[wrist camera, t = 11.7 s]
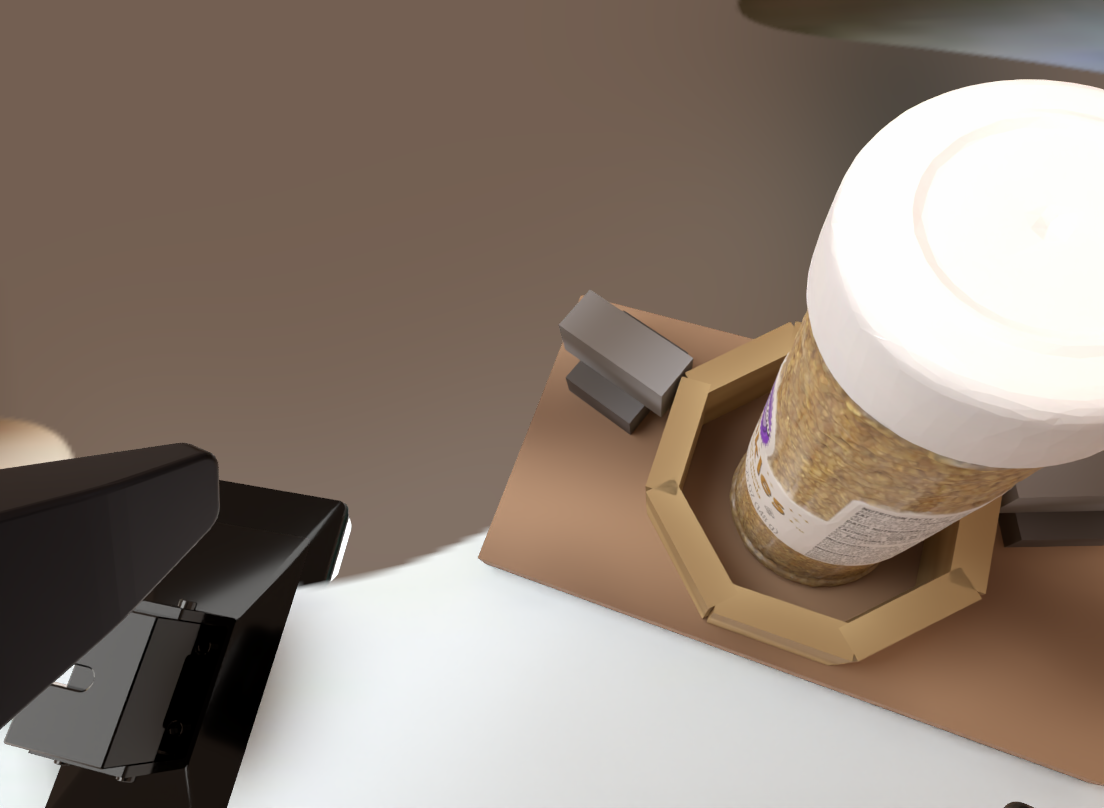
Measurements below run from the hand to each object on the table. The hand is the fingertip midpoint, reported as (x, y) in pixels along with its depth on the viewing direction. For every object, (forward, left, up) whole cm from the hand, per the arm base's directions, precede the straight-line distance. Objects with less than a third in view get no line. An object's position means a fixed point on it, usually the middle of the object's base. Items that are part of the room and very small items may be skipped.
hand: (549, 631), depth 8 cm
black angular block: (-5, +12, -14) cm, 20 cm away
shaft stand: (+6, -4, -14) cm, 15 cm away
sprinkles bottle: (+6, -4, -13) cm, 15 cm away
